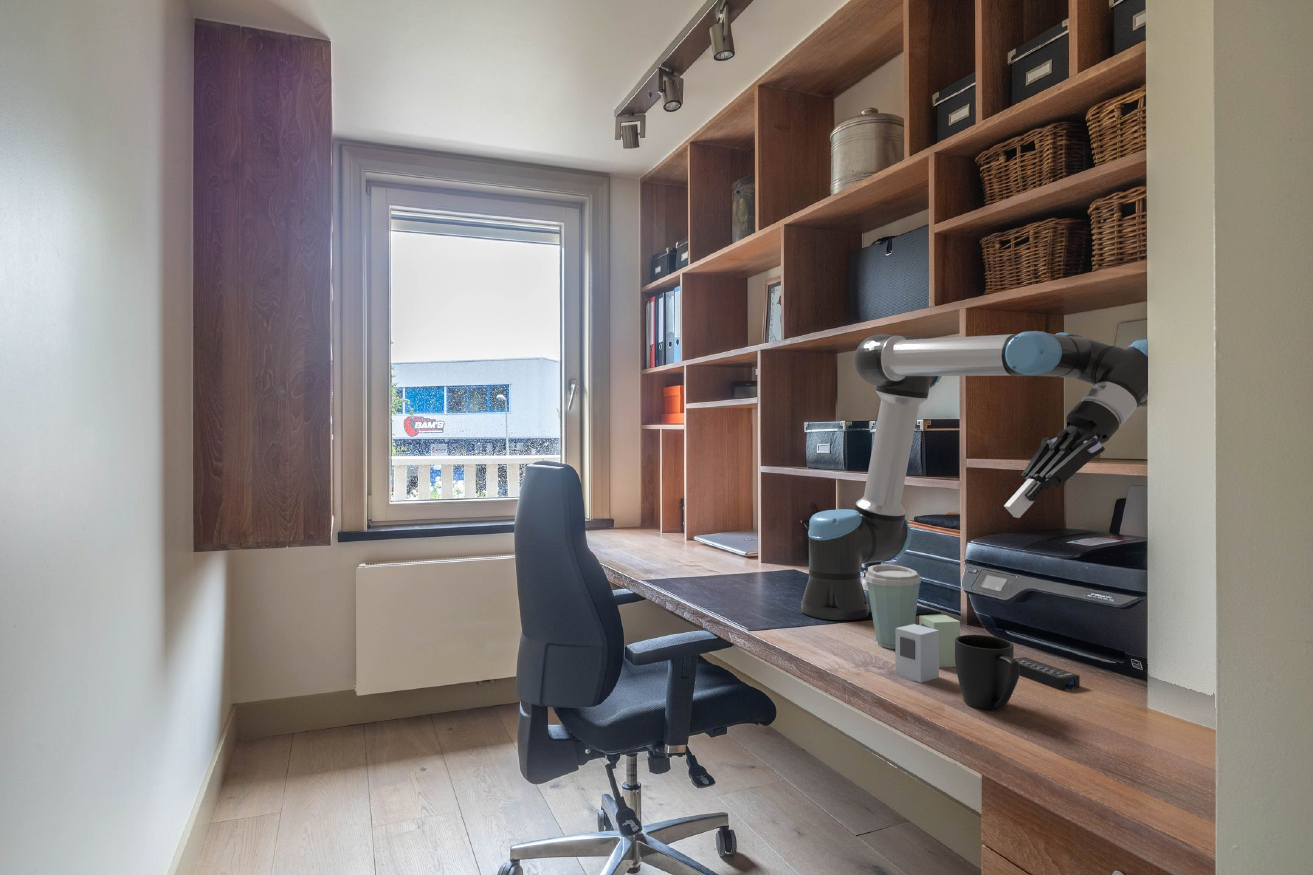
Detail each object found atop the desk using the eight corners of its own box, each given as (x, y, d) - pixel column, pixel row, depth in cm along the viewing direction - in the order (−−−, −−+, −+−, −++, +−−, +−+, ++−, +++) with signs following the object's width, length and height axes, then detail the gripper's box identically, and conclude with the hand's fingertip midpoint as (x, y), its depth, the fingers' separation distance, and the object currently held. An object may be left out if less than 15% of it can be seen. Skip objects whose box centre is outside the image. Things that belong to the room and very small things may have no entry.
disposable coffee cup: (934, 648, 141) (934, 570, 141) (892, 656, 136) (892, 575, 136) (893, 635, 150) (893, 562, 150) (852, 641, 145) (852, 566, 145)
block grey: (894, 674, 125) (894, 628, 125) (914, 669, 128) (914, 623, 128) (919, 683, 121) (919, 634, 121) (939, 677, 124) (939, 630, 124)
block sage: (918, 659, 134) (918, 615, 134) (944, 657, 135) (944, 614, 135) (932, 667, 129) (932, 622, 129) (959, 666, 130) (960, 621, 130)
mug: (986, 725, 104) (986, 658, 103) (944, 695, 115) (944, 635, 115) (1041, 722, 104) (1041, 656, 104) (994, 693, 116) (994, 633, 116)
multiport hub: (1024, 669, 129) (1024, 656, 129) (1081, 689, 119) (1081, 675, 119) (1005, 672, 128) (1005, 659, 128) (1061, 693, 117) (1061, 678, 117)
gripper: (1059, 400, 133) (974, 493, 130) (1115, 396, 120) (1022, 499, 117) (1085, 429, 133) (1002, 522, 131) (1143, 429, 121) (1052, 532, 118)
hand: (1011, 511), depth 124 cm, fingers closed
